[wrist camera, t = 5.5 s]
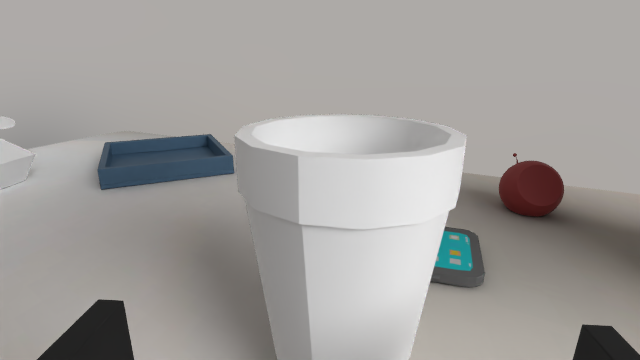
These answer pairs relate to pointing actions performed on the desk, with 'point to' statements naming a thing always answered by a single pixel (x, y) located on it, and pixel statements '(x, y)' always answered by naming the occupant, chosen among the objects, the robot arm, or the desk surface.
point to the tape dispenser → (13, 159)
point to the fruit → (531, 188)
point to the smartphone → (459, 259)
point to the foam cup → (347, 227)
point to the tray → (162, 160)
